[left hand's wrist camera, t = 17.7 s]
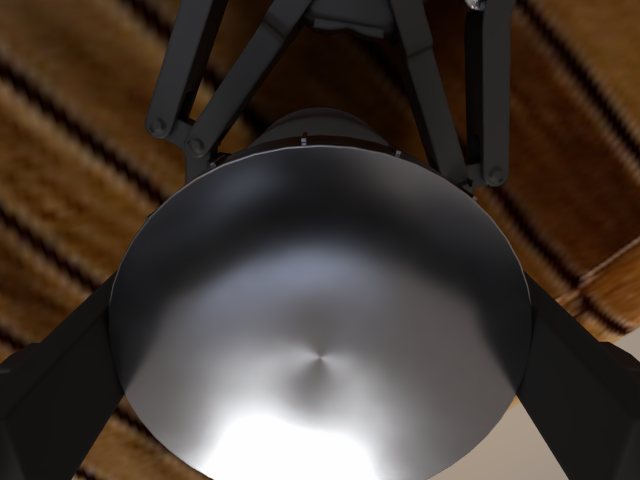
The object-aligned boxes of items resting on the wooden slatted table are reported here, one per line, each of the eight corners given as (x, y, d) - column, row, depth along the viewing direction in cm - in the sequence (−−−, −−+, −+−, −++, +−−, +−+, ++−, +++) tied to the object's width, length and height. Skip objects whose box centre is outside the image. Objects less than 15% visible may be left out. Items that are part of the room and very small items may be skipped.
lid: (375, 497, 15) (381, 547, 13) (84, 375, 13) (51, 417, 11) (585, 259, 12) (627, 289, 10) (234, 46, 10) (216, 40, 8)
